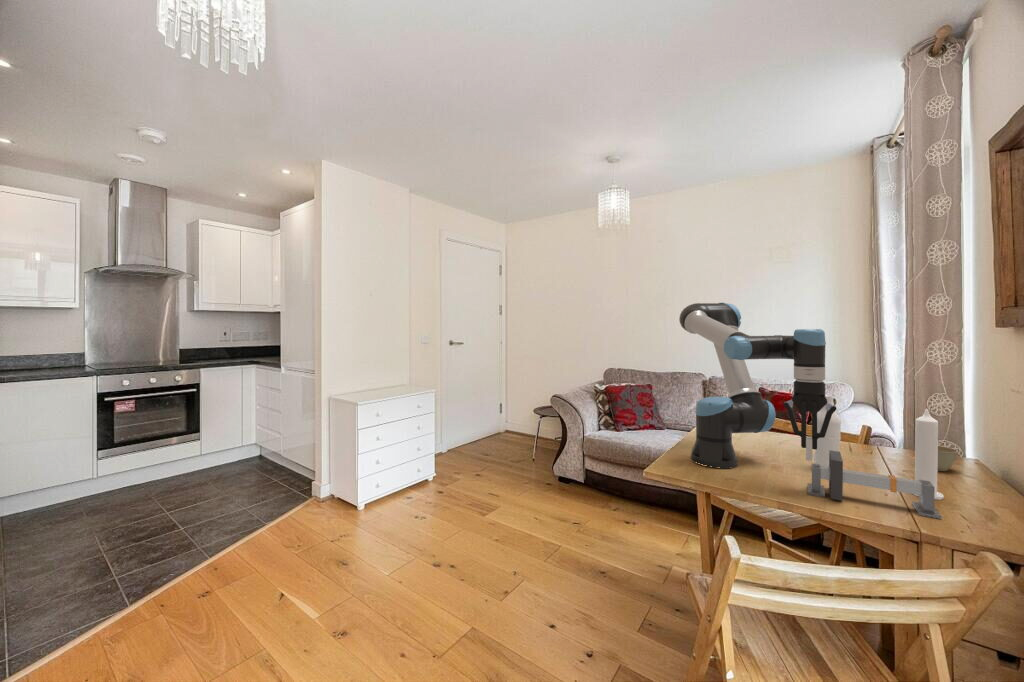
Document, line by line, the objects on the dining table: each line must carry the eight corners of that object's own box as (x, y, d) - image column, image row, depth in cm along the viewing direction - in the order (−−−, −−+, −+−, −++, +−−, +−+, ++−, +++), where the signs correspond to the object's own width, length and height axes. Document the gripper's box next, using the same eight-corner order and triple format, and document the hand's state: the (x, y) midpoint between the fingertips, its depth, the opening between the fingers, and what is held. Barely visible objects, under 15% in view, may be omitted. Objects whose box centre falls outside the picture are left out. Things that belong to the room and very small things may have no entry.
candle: (906, 487, 120) (907, 405, 119) (940, 493, 115) (942, 408, 115) (910, 495, 114) (911, 409, 114) (946, 501, 110) (947, 412, 109)
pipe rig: (807, 494, 116) (807, 467, 116) (807, 485, 122) (807, 460, 122) (941, 519, 100) (941, 488, 99) (933, 507, 106) (933, 479, 106)
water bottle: (841, 474, 131) (841, 399, 130) (813, 470, 135) (814, 397, 134) (840, 468, 136) (840, 396, 136) (813, 464, 141) (814, 394, 140)
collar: (830, 498, 111) (831, 459, 111) (828, 486, 120) (829, 450, 120) (842, 500, 110) (842, 461, 110) (839, 488, 119) (839, 451, 118)
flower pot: (937, 464, 140) (938, 444, 140) (967, 474, 130) (967, 452, 130) (906, 463, 141) (907, 443, 141) (934, 473, 131) (934, 452, 131)
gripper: (782, 380, 119) (782, 458, 119) (838, 383, 111) (838, 467, 111) (783, 378, 125) (783, 452, 125) (836, 380, 117) (836, 460, 117)
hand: (809, 459), depth 118 cm, fingers closed
